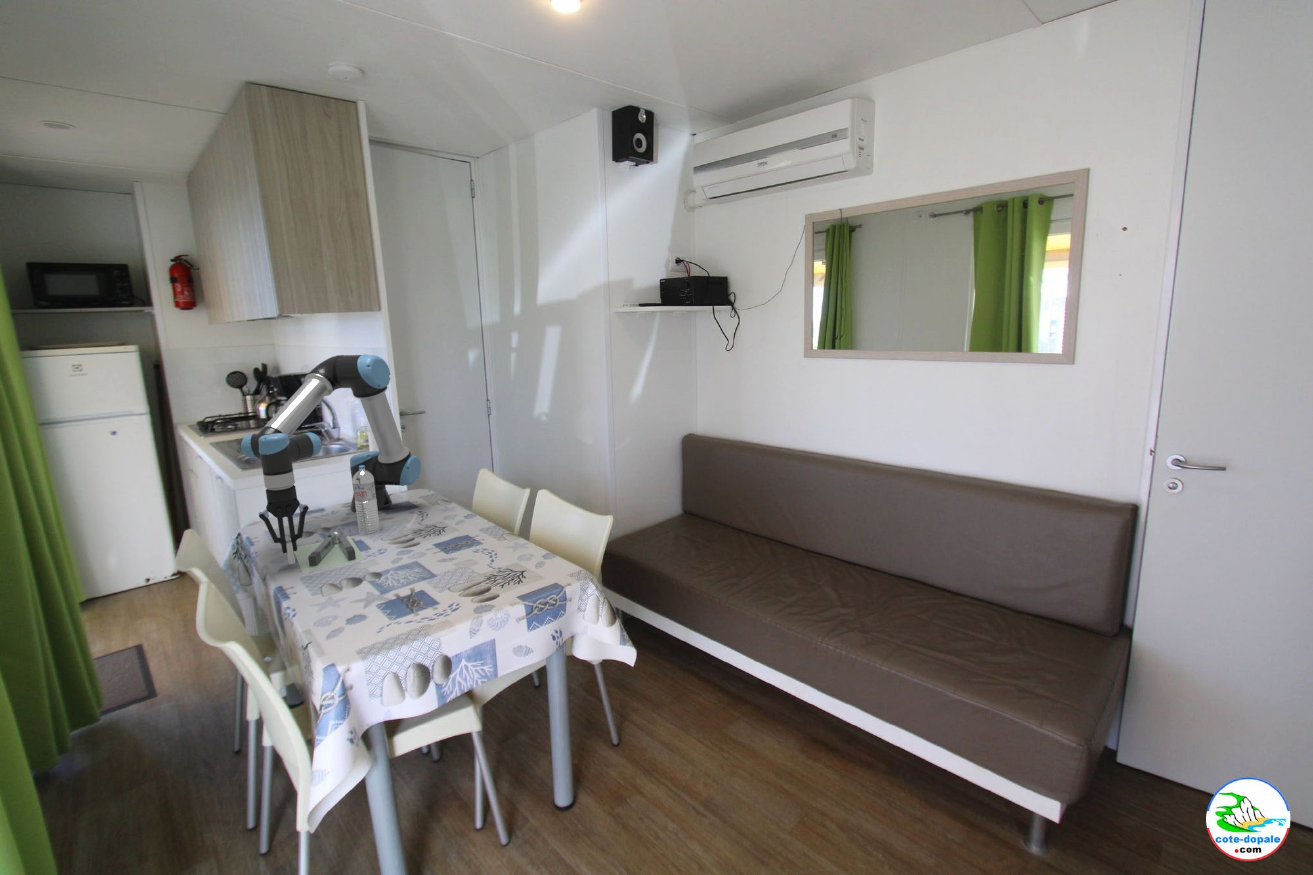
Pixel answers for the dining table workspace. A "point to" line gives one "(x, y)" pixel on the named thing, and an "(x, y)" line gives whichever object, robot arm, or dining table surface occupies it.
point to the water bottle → (366, 502)
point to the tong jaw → (321, 551)
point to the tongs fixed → (343, 544)
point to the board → (325, 557)
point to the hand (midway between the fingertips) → (291, 562)
